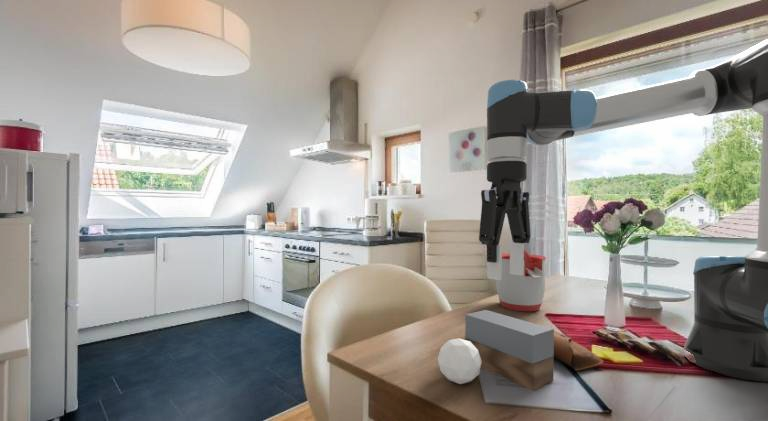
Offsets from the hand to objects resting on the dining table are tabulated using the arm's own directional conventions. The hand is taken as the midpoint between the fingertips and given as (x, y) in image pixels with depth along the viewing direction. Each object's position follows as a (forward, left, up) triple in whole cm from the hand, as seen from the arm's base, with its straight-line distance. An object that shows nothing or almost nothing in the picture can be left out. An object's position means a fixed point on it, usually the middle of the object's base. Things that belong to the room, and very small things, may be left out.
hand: (505, 276), depth 72 cm
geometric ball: (+3, +11, -19) cm, 22 cm away
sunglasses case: (-4, -18, -19) cm, 27 cm away
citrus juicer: (+22, -45, -19) cm, 54 cm away
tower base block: (0, 0, -19) cm, 19 cm away
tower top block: (0, -1, -14) cm, 14 cm away
